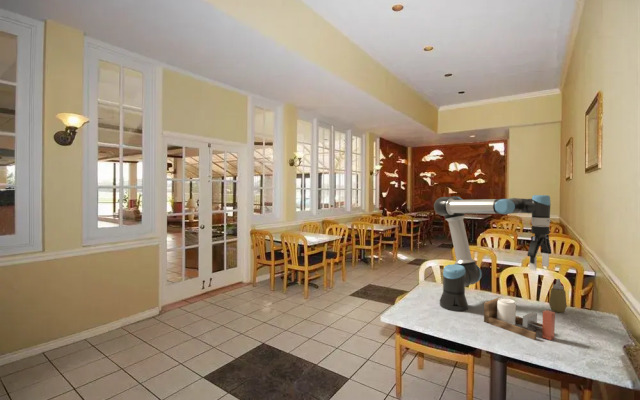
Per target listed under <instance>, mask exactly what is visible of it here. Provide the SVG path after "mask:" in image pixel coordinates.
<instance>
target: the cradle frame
mask: <svg viewBox="0 0 640 400" xmlns="http://www.w3.org/2000/svg"><path fill="white" fill-rule="evenodd" d="M499 298H500V297H497V298H494V299H490V300H488V301H484V303H483V306H484V307H483V308H484V309H483V322H484V323H486V324H489V325H491V326H495V327H496V328H500V329H503V330H506V331H509V332H512V333H514V334H517V335H520V336H522V337H525V338H529V339H531V340H533V341H535V340H536V339H537V332H535V331H530V330H527V329H524V328H523V327H521V326H523V317H520V316H518V315H516V318H515V325H512V324H510V323H507V322H504V321H501V320H498V319H497V301H498V299H499ZM516 324H519V325H521V326H518V325H516ZM542 325H543V323H539V322H537V326H541V327H542ZM536 331H539V332H542V330H539V329H537V330H536Z"/></svg>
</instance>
